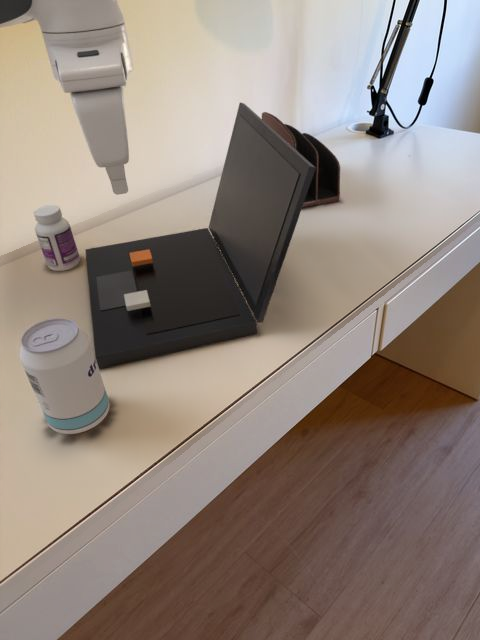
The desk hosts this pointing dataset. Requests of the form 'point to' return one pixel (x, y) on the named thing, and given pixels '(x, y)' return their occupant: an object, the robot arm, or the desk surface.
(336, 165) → the letter holder
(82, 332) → the beverage can
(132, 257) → the orange block
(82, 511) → the desk surface
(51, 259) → the pill bottle
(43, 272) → the desk surface
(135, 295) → the white flat square block
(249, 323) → the laptop
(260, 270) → the laptop screen
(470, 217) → the desk surface
